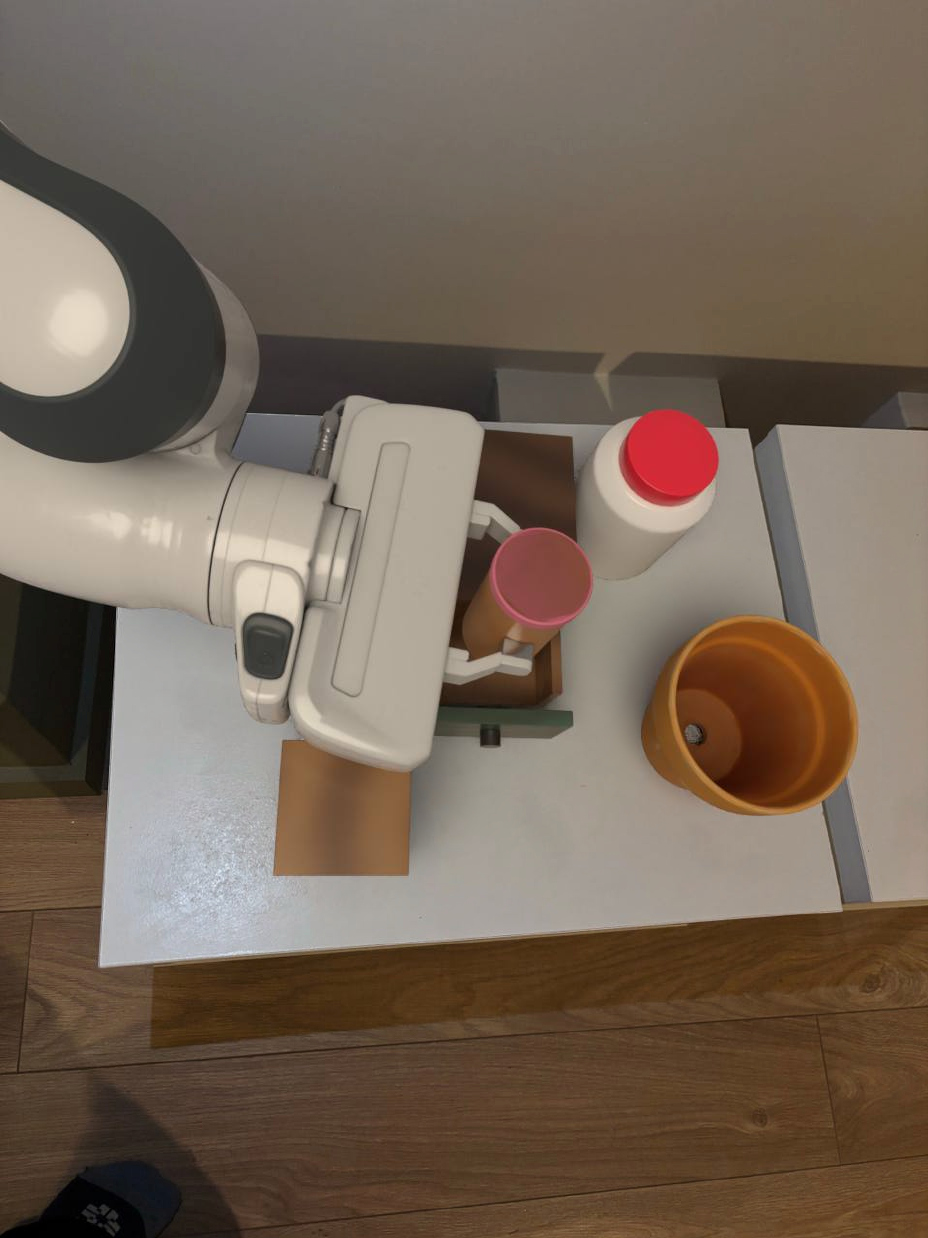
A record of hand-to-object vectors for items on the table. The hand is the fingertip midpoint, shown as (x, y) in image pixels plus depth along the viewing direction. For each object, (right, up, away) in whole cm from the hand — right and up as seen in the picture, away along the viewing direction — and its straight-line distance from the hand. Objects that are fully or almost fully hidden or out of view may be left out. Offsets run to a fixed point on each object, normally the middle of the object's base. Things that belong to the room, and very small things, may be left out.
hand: (538, 606), depth 44 cm
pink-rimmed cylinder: (-2, -1, +5) cm, 6 cm away
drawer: (-3, -4, +22) cm, 23 cm away
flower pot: (+15, -11, +25) cm, 31 cm away
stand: (-14, -16, +18) cm, 28 cm away
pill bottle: (+9, +8, +29) cm, 31 cm away
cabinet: (-3, +5, +26) cm, 27 cm away
